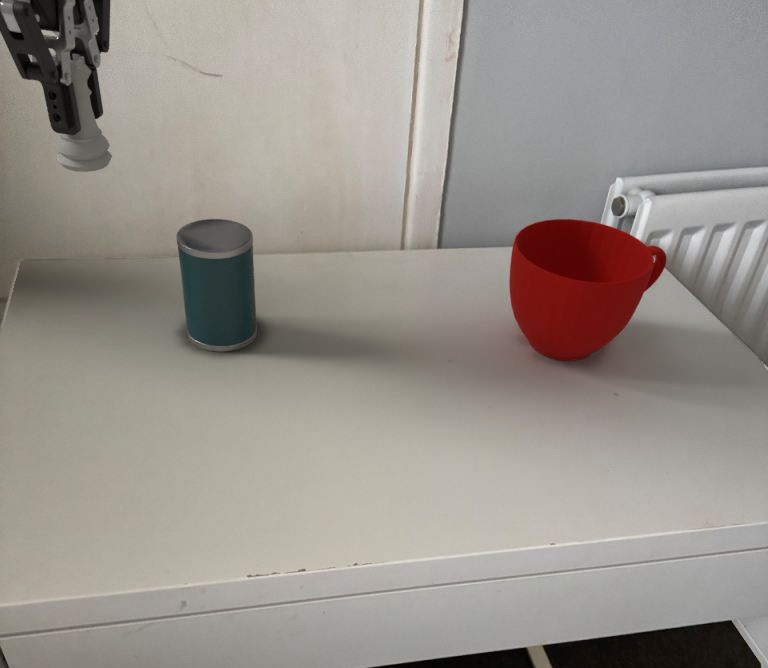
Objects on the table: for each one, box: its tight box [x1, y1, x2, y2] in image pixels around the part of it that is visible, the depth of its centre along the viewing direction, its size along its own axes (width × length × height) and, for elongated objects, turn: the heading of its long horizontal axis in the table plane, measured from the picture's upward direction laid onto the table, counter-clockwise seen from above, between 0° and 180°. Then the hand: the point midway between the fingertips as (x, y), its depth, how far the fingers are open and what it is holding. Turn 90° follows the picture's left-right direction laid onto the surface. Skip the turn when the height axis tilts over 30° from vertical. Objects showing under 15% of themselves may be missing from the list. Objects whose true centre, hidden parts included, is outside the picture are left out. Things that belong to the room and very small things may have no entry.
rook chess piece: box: [52, 54, 113, 173], centre depth 67 cm, size 4×4×8 cm
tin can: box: [175, 218, 258, 353], centre depth 78 cm, size 7×7×10 cm
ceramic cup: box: [508, 218, 667, 361], centre depth 81 cm, size 13×17×10 cm
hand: (78, 123), depth 68 cm, fingers closed on rook chess piece, 3 cm apart
